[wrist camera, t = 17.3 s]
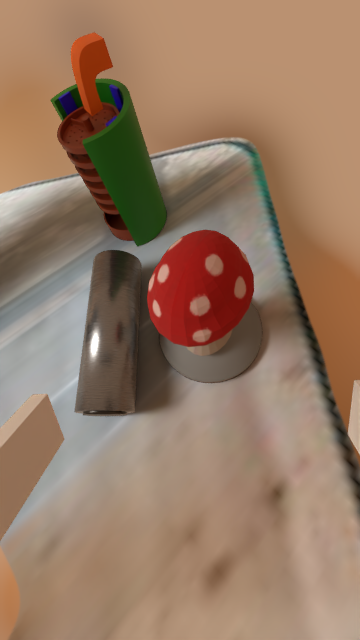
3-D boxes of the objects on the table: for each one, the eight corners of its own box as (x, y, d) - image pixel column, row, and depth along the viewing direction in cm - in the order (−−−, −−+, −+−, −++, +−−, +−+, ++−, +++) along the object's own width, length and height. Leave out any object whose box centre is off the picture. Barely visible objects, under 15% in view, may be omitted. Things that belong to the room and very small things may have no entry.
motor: (95, 220, 43) (-4, 65, 25) (136, 185, 45) (71, 13, 26) (137, 253, 39) (56, 98, 21) (180, 213, 41) (139, 35, 23)
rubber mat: (160, 385, 32) (158, 384, 31) (161, 292, 36) (159, 289, 35) (268, 380, 30) (269, 379, 29) (255, 283, 34) (255, 280, 34)
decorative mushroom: (225, 386, 30) (218, 345, 16) (157, 353, 32) (102, 293, 19) (261, 308, 32) (282, 215, 18) (195, 283, 35) (171, 187, 21)
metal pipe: (91, 417, 32) (62, 413, 26) (105, 277, 39) (85, 251, 33) (142, 415, 31) (122, 411, 25) (147, 272, 38) (132, 245, 32)
